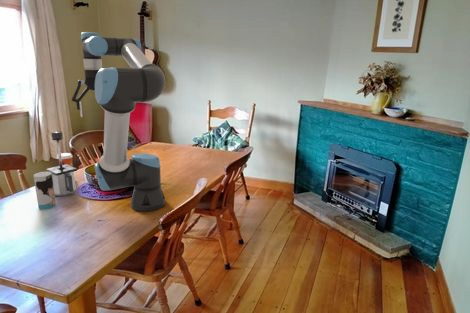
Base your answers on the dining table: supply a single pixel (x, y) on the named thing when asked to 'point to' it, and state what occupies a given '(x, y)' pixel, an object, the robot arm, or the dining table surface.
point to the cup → (44, 190)
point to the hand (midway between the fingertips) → (97, 116)
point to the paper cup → (65, 159)
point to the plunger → (58, 145)
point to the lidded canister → (63, 180)
